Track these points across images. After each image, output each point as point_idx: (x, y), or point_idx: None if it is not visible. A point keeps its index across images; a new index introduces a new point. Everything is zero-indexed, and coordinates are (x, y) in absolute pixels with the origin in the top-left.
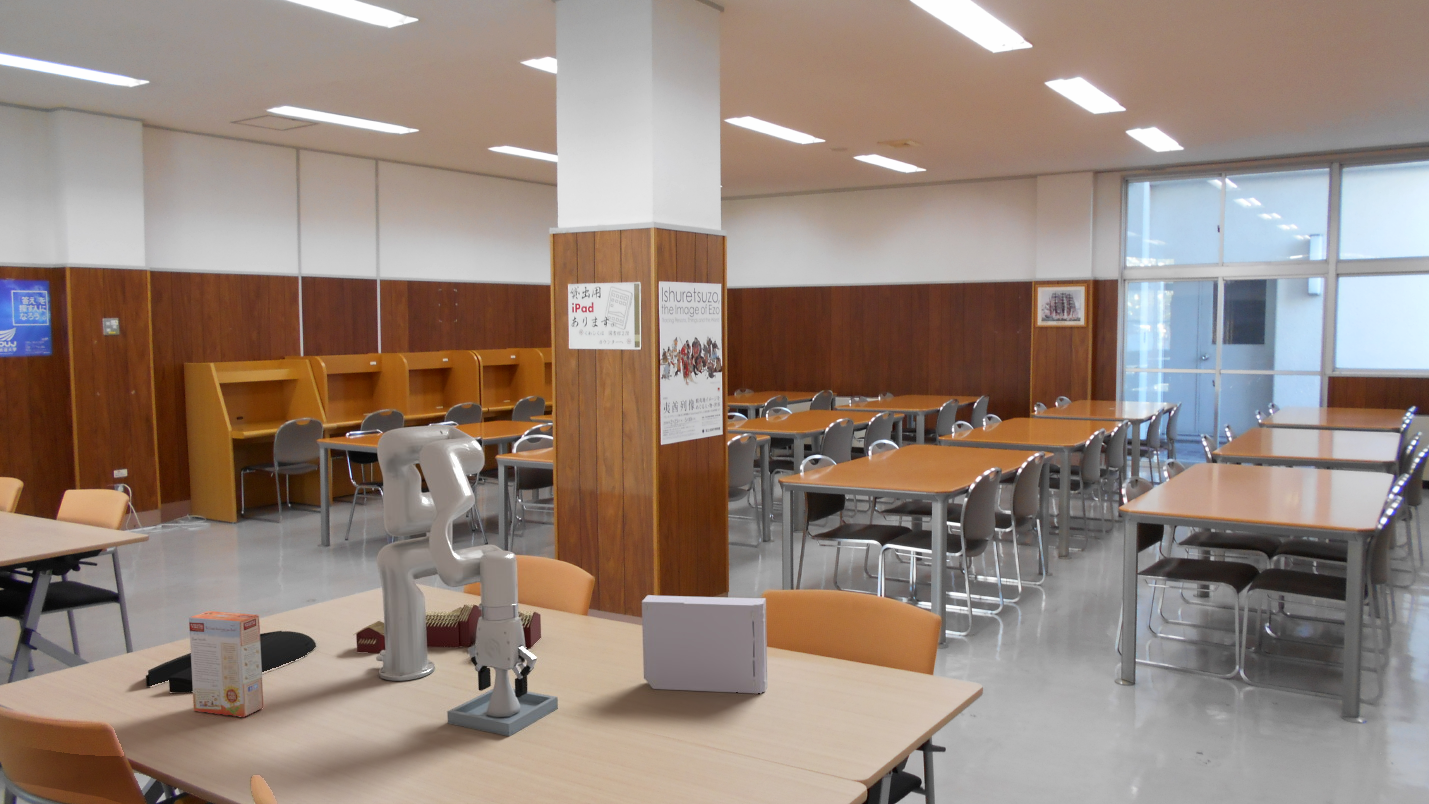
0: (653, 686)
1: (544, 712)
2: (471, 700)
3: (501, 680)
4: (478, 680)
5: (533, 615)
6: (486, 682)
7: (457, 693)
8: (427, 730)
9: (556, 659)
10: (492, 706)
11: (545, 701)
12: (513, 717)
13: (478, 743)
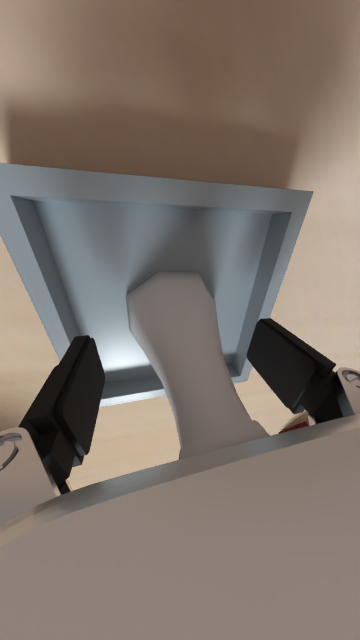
0: None
1: None
2: (270, 303)
3: (183, 373)
4: (296, 337)
5: None
6: (262, 354)
7: (310, 342)
8: (325, 103)
9: None
10: (184, 288)
11: None
12: (117, 298)
13: (47, 9)
